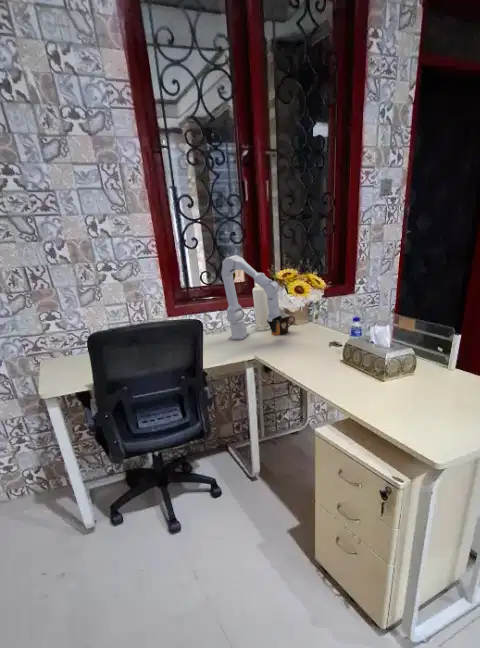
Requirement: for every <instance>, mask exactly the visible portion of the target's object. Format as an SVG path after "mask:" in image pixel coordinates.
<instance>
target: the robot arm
mask: <svg viewBox="0 0 480 648" xmlns="http://www.w3.org/2000/svg"><path fill="white" fill-rule="evenodd" d="M221 264H222V268H221V277H222V282H223V285H224V290H225V291H224V292H225V295H226V299H227V304H228V306H227V309H226V320H227V321H228V322H229V325H230V333H231V337H229V340H241V341H242V340H243V339H245V338H246V337H247V336H248V335H249V333H247V325H246V322H245V320H244V318H245V311H244V310H243V308H242V305H240V303H239V301H238V295H237V291H236V286H235V281H234V276H233V274H234V273H235V271H243V273H245V274H247V275H248V276H249V277H251V278H253V281H255V282H256V283H257V284H258V285H259V286H261V287H262V288H263V289H264V291H265V293H266V294H267V302H268V313H269V314H268V320H267V322H268V324H269V325H270V331H272V332H271V334H272V333H276V326H277V321H278V320H279V326H280V320H281V318H282V316H281V315H282V314H283V313H281V311H280V305H279V304H280V303H279V290H280V285H279V283H278V282H277V281H276V280H272V278H271V279H270V278H268V277H267V276H266V274H265V272H258V271H256V269H254V268H253V267H252V266H251V265H250V264H249V263H248V262H247V261H246V260H245V259H244V258H243V257H241V256H240V255H239V254H234V255H232V256H227V257H225V258H224V259H223V260H222V262H221ZM255 282H254V283H255ZM275 319H277V320H275Z"/></svg>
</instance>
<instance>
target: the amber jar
mask: <svg viewBox="0 0 480 648" xmlns="http://www.w3.org/2000/svg"><path fill="white" fill-rule="evenodd" d="M275 320H277V319H275ZM270 331H271V330H270ZM271 336H274V337H276V336H281V335H280V327H279V320H278V321H277V326H276V333H272V331H271Z"/></svg>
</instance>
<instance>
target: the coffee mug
mask: <svg viewBox="0 0 480 648" xmlns="http://www.w3.org/2000/svg"><path fill="white" fill-rule="evenodd" d="M281 314H282V315H281V316H282V318H281V320H280V326H279V327H280V335H279V336H284V335H288V333H289V328H290V327H291V326H292V325H293V324H294V323H295V322H296V320H295V316H293V315H289V314H287V313H281ZM290 318H293V321H292V322H291V323H290V324H289V321H290Z"/></svg>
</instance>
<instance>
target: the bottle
mask: <svg viewBox="0 0 480 648" xmlns="http://www.w3.org/2000/svg"><path fill="white" fill-rule="evenodd" d="M253 281H254V280H253ZM252 298H253V308H254V317H255V327H256V331H268V330H271V328H270V325H269V324H268V322H267V320H268V314H269V312H268V301H267V294H266V293H265V291H264V289H263V288H262V287H261V286H259V285H258V284H257V283H256V282H255V281H254V287H253V288H252Z"/></svg>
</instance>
